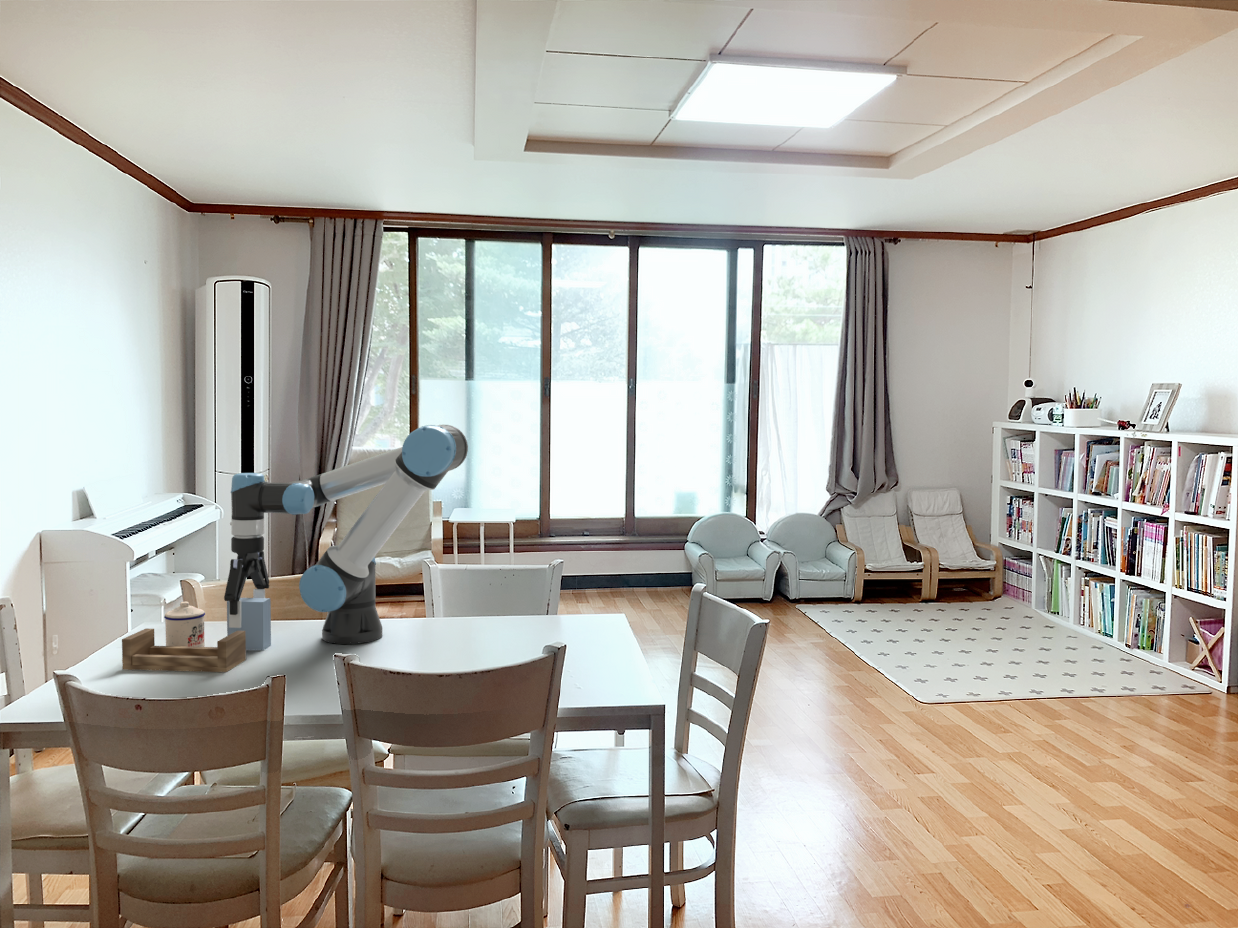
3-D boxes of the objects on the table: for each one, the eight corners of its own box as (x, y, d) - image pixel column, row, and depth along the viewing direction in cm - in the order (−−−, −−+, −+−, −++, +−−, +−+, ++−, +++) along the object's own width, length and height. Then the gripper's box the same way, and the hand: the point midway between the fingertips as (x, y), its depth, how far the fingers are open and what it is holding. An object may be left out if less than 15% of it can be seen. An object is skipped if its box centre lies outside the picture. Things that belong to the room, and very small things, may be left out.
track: (245, 659, 221) (245, 630, 220) (226, 672, 211) (226, 641, 210) (146, 657, 222) (145, 628, 221) (122, 669, 212) (121, 639, 211)
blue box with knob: (271, 645, 234) (270, 598, 233) (261, 651, 229) (261, 602, 228) (235, 644, 234) (235, 597, 234) (225, 650, 229) (224, 602, 228)
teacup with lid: (193, 654, 225) (192, 606, 224) (157, 653, 226) (156, 605, 225) (218, 641, 237) (217, 596, 236) (183, 640, 238) (182, 595, 237)
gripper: (254, 528, 243) (254, 608, 244) (208, 543, 218) (208, 632, 219) (282, 529, 242) (282, 609, 244) (240, 544, 218) (240, 633, 219)
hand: (247, 620), depth 232 cm, fingers open, 13 cm apart
